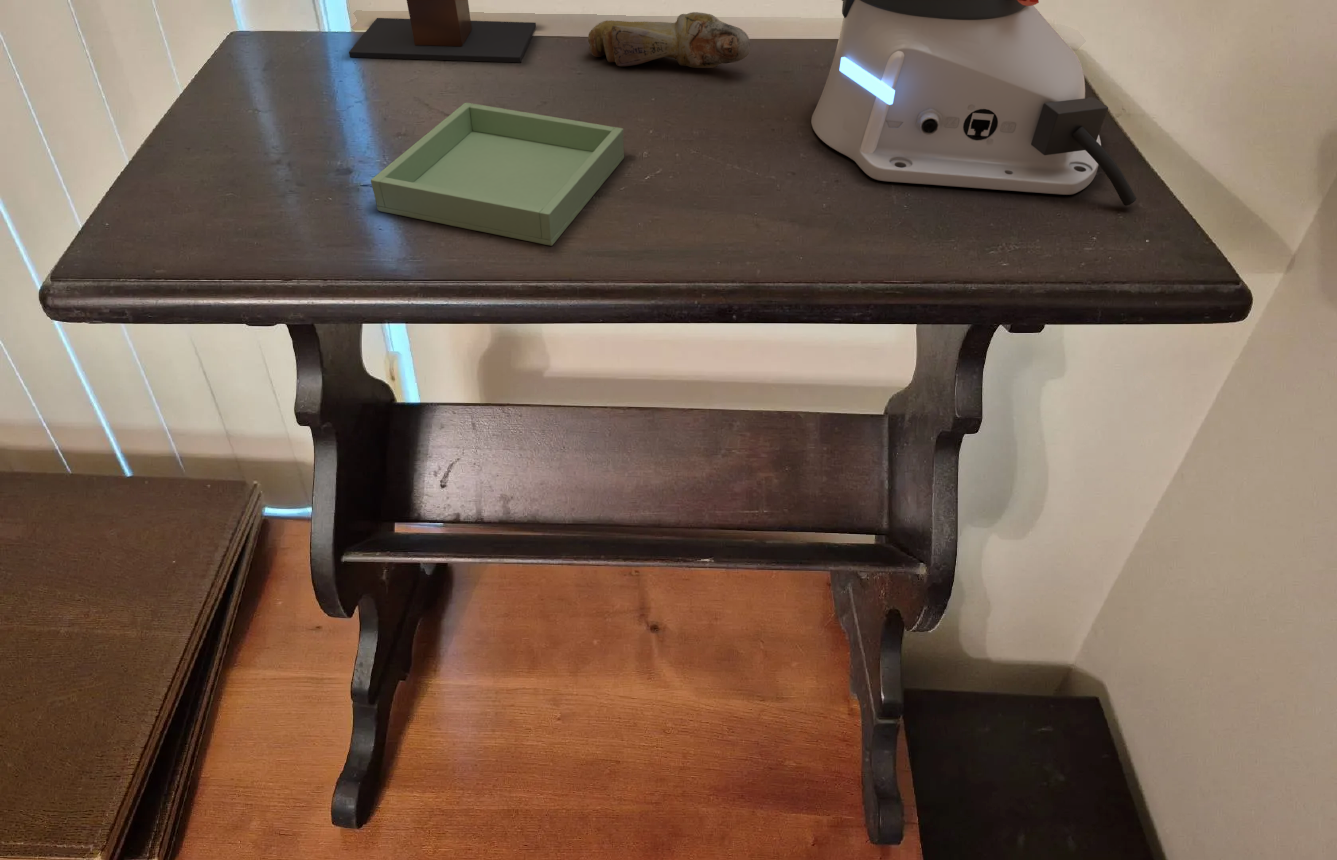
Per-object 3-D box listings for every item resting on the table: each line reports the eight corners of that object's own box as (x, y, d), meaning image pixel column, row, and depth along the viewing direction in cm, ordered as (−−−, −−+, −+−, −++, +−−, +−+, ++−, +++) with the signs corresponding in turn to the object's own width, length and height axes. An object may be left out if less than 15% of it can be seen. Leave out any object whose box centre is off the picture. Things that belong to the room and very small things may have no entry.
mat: (536, 27, 88) (535, 22, 87) (520, 62, 81) (519, 57, 81) (378, 22, 88) (376, 17, 88) (349, 57, 82) (348, 51, 81)
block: (472, 29, 86) (465, -21, 82) (462, 46, 82) (454, -5, 79) (426, 27, 86) (417, -22, 83) (414, 45, 82) (405, -6, 79)
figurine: (576, 40, 79) (732, 41, 73) (596, -4, 81) (750, -6, 75) (596, 83, 83) (744, 88, 78) (614, 41, 85) (761, 42, 80)
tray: (624, 157, 68) (623, 127, 66) (551, 246, 59) (549, 214, 57) (469, 130, 71) (465, 101, 69) (377, 210, 62) (369, 179, 60)
